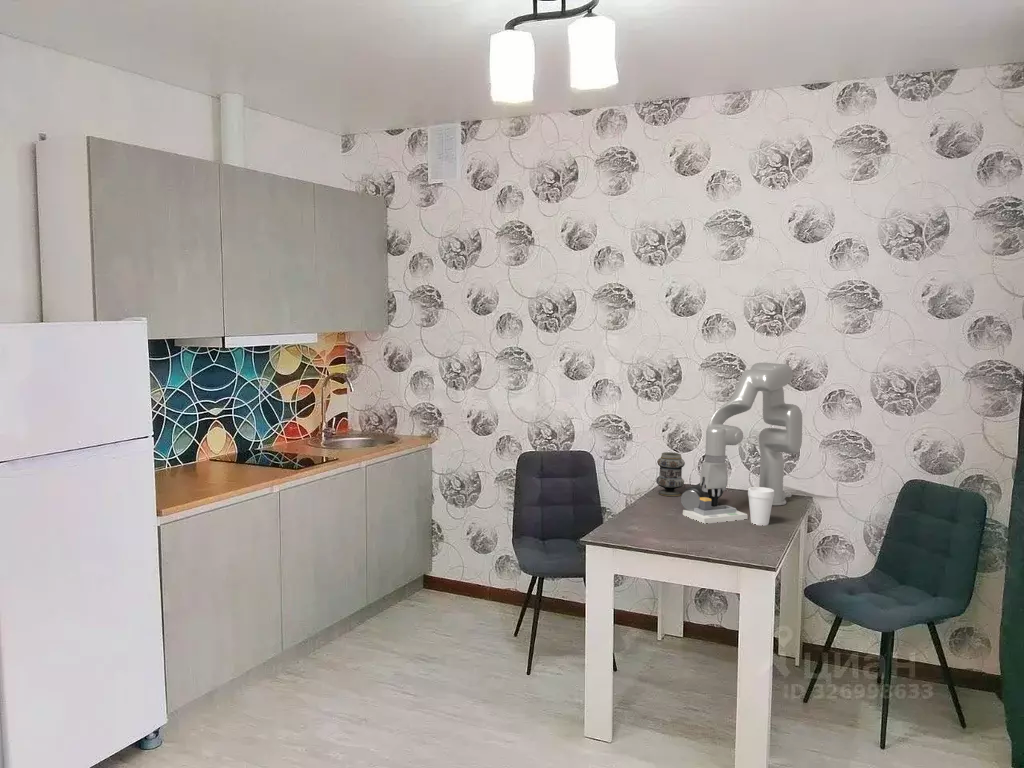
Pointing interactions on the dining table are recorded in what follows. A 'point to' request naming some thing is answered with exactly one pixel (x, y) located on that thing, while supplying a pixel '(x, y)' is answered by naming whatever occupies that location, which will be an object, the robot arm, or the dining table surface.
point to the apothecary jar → (670, 473)
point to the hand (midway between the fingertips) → (713, 505)
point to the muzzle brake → (693, 497)
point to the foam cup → (760, 504)
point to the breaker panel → (715, 514)
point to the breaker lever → (705, 503)
